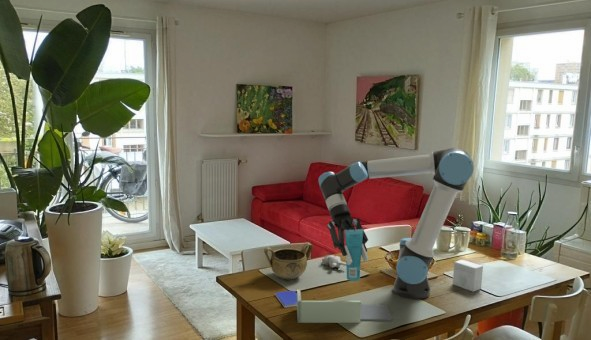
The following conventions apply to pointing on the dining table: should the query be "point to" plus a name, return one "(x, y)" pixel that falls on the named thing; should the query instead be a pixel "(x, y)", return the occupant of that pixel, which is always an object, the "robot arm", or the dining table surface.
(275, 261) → the ceramic bowl
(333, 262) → the bunny figurine
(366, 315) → the mat
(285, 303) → the hard drive
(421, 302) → the dining table surface
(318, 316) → the l-shaped block
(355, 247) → the tube
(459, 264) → the skincare box
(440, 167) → the robot arm
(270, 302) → the dining table surface
